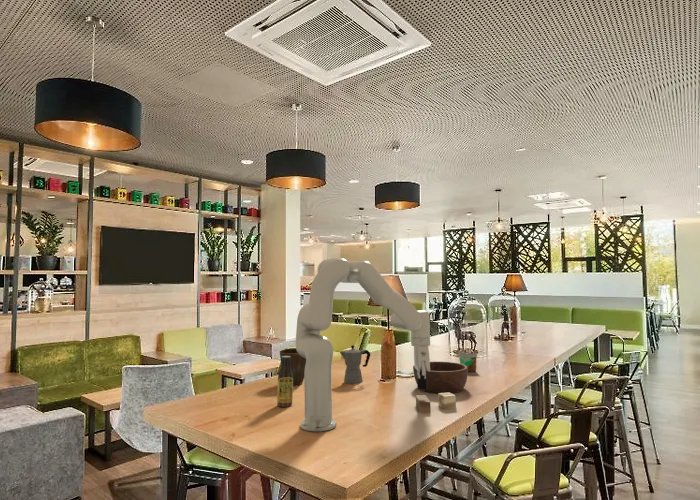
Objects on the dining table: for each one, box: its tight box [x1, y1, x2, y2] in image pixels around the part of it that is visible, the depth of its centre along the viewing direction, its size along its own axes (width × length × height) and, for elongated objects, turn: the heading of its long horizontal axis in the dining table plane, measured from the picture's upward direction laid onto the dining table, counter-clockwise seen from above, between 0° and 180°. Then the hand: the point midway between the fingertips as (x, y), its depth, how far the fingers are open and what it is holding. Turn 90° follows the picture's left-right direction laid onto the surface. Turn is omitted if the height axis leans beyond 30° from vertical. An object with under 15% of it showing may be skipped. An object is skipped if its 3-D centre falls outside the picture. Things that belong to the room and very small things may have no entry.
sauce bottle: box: [276, 356, 294, 408], centre depth 186 cm, size 6×6×20 cm
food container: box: [458, 350, 478, 373], centre depth 248 cm, size 12×6×10 cm, turn 25°
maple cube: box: [437, 392, 457, 410], centre depth 180 cm, size 5×5×5 cm
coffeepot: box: [339, 344, 371, 385], centre depth 227 cm, size 15×9×18 cm, turn 87°
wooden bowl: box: [412, 361, 469, 394], centre depth 210 cm, size 25×25×10 cm
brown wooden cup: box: [279, 348, 306, 386], centre depth 225 cm, size 15×15×16 cm
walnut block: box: [415, 394, 432, 414], centre depth 178 cm, size 4×4×10 cm
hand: (421, 388), depth 179 cm, fingers closed
